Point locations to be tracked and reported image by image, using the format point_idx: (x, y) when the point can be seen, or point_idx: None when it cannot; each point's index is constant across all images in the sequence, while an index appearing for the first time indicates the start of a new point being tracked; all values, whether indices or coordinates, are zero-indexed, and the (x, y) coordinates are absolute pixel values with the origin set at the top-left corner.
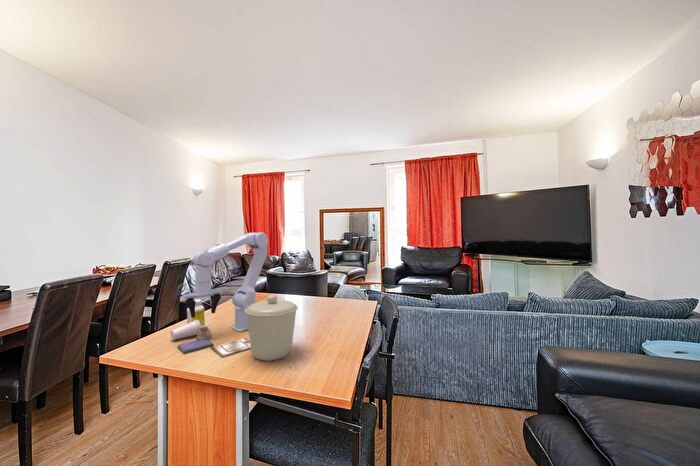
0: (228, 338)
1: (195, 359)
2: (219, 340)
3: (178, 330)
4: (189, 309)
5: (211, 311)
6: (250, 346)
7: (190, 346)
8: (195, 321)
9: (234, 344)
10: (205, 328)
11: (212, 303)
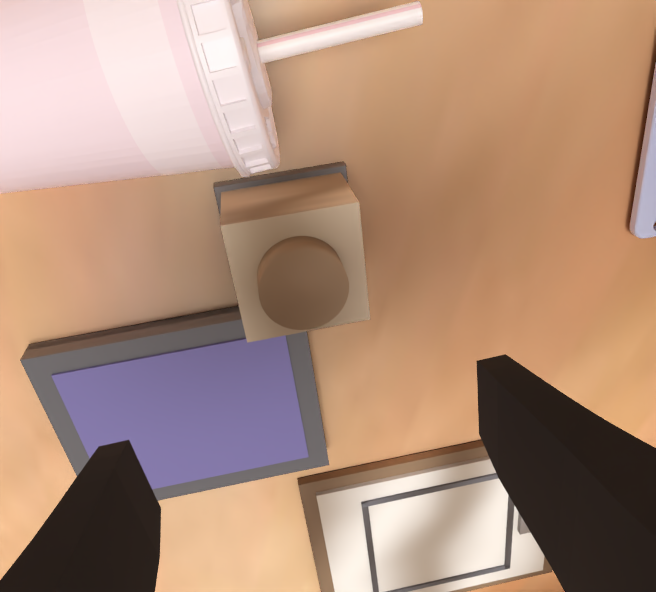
0: (479, 345)
1: (181, 585)
2: (401, 353)
3: None
4: (9, 589)
5: (487, 376)
6: (513, 573)
7: (146, 450)
8: (199, 94)
9: (453, 513)
10: (312, 327)
11: (592, 541)
